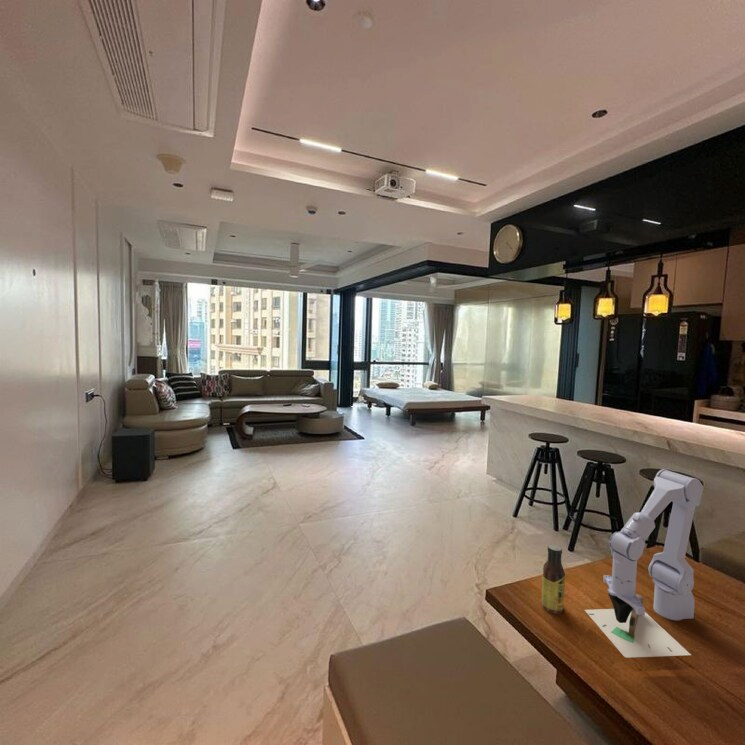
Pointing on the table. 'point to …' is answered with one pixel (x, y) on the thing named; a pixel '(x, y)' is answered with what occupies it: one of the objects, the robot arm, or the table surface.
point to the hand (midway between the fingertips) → (621, 621)
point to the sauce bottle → (553, 581)
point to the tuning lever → (634, 619)
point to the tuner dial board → (637, 635)
